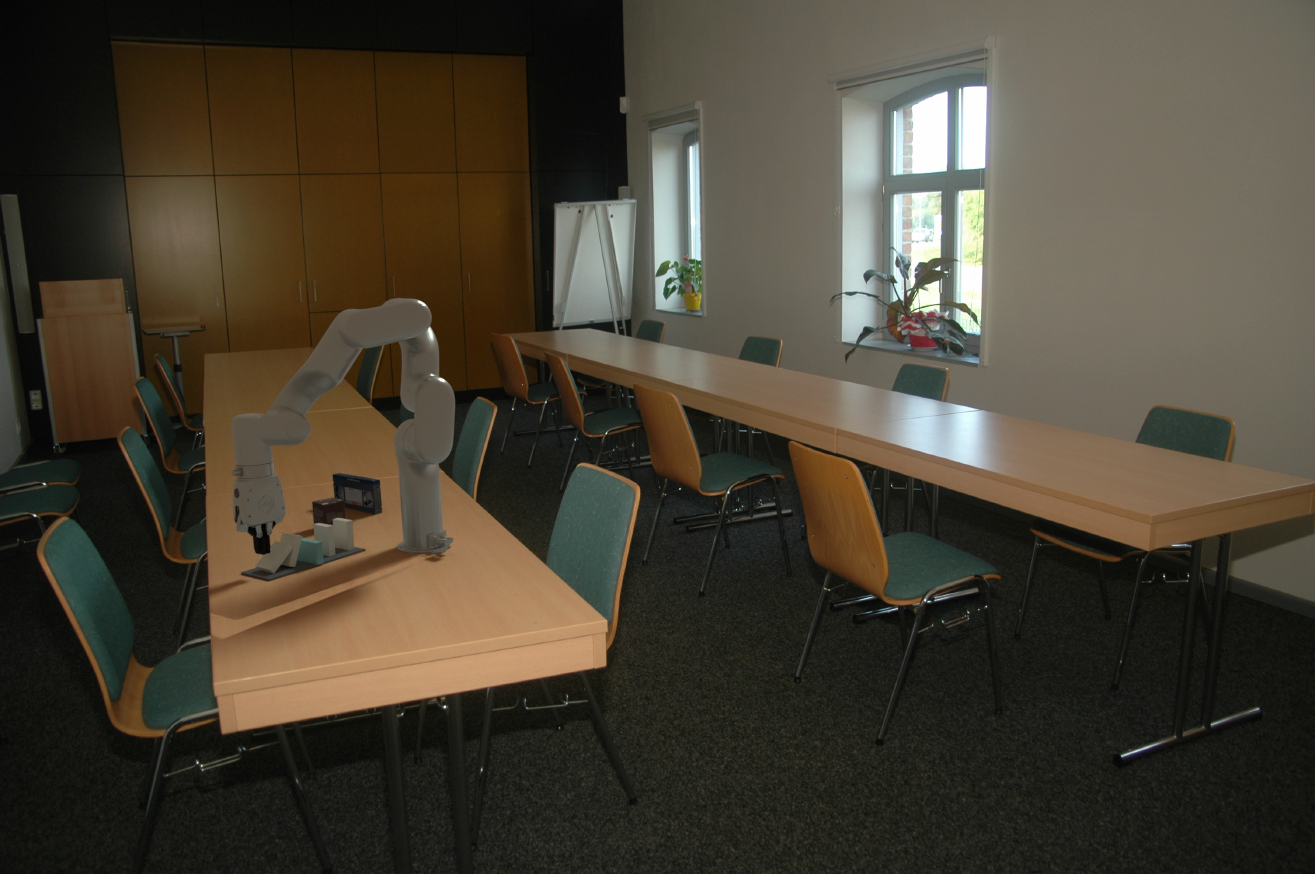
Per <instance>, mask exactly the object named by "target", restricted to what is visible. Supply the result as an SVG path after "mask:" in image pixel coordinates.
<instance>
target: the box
mask: <svg viewBox="0 0 1315 874" xmlns="http://www.w3.org/2000/svg"><path fill="white" fill-rule="evenodd" d="M311 504H312V505H311V506H312V518H313V519H312V520H313V524H317V523H322V524H328V525H333V519H335V518H343V519H347V517H346V515H347V514H346V507H345V503H344V500H341V499H337V498H334V497H333V496H331V497H328V498H323V499H318V500H315V501H314V500H313V501H311Z"/></svg>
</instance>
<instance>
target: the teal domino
mask: <svg viewBox="0 0 1315 874" xmlns="http://www.w3.org/2000/svg"><path fill="white" fill-rule="evenodd" d="M297 559H298V561H303V562H307V563H312V564H316V565H319V564H322V563H324V561H323V548H322V542H321V541H316V540H315V539H311V538H306V537H302V540H301V544H300V549H299V553H298V557H297ZM322 565H323V564H322ZM319 566H320V565H319Z"/></svg>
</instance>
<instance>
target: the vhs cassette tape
mask: <svg viewBox="0 0 1315 874" xmlns="http://www.w3.org/2000/svg"><path fill="white" fill-rule="evenodd" d="M332 482H333V483H332V484H333V496H334V497H333V498H337V499H341V500H344V503H345V509H346V508H347V509H350V510H355V511H359V512H363V513H367V514H372V515H375V516H376V515H378V514H383V504H382V502H383V501H382V491H381V490H382V489H381V479H378V478H377V479H376V478H373V477H366V476H360V475H354V474H348V473H340V472H339V473H333V474H332Z"/></svg>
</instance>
